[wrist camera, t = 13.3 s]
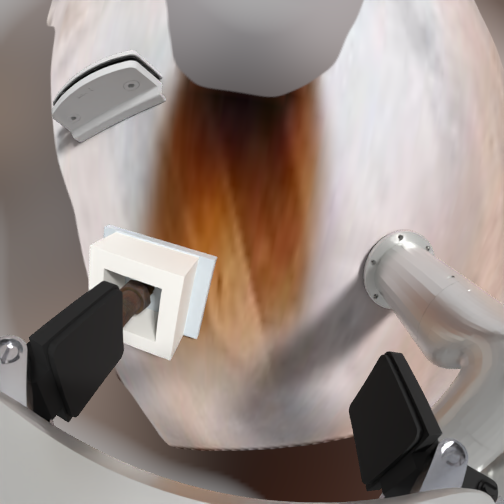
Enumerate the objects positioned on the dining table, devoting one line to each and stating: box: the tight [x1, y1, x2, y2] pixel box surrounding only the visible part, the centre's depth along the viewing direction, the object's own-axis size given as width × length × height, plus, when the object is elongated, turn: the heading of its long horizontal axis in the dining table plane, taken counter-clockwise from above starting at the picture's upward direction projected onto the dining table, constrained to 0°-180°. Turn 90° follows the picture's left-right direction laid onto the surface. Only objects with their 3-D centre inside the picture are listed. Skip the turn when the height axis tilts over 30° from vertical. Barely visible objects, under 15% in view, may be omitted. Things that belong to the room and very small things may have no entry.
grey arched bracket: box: [52, 50, 166, 143], centre depth 29 cm, size 17×5×10 cm, turn 105°
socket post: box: [89, 224, 217, 360], centre depth 37 cm, size 18×14×8 cm
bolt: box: [120, 280, 155, 327], centre depth 33 cm, size 6×5×15 cm
